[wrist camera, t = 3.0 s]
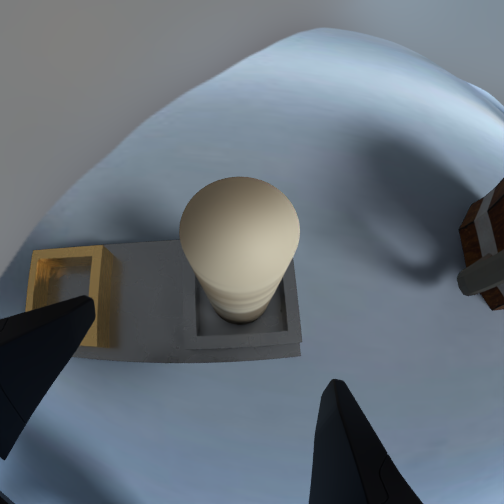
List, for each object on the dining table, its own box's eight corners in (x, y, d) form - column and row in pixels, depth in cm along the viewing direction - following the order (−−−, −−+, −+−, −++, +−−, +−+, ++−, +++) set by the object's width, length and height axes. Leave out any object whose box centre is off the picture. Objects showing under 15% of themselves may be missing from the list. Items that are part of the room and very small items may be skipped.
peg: (280, 301, 20) (323, 237, 9) (234, 336, 19) (227, 311, 8) (244, 258, 21) (249, 159, 10) (199, 290, 20) (158, 217, 9)
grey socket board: (285, 240, 23) (291, 222, 20) (297, 356, 19) (307, 355, 16) (52, 253, 21) (33, 240, 18) (44, 352, 18) (22, 349, 15)
